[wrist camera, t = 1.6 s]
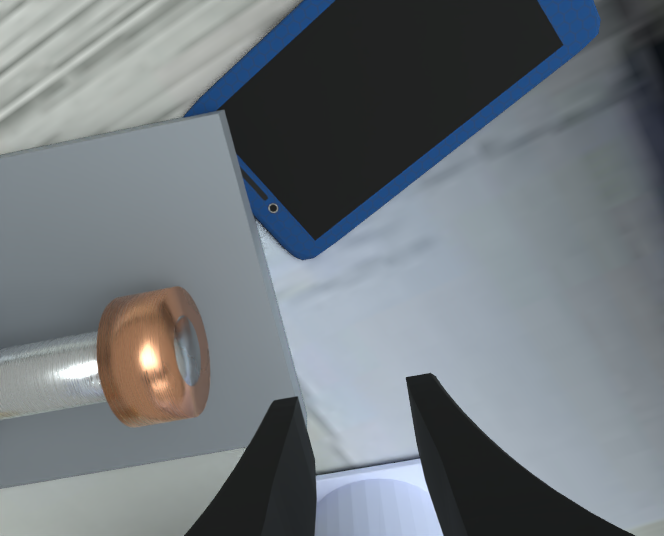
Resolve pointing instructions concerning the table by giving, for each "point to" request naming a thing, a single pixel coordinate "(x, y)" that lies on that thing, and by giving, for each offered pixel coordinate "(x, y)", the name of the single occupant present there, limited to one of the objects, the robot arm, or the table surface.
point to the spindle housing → (137, 285)
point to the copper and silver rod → (117, 364)
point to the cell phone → (378, 99)
